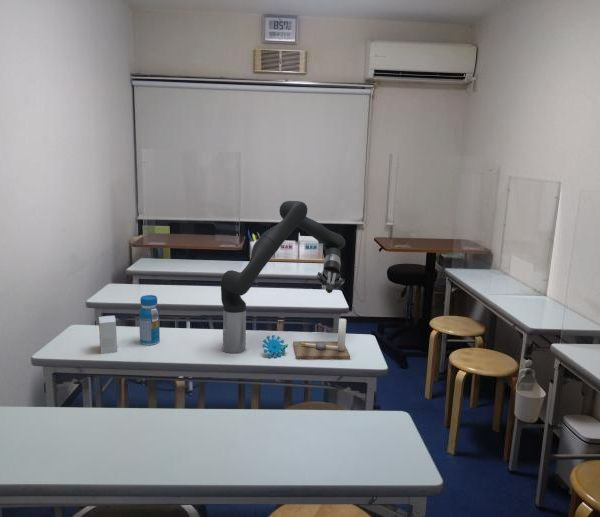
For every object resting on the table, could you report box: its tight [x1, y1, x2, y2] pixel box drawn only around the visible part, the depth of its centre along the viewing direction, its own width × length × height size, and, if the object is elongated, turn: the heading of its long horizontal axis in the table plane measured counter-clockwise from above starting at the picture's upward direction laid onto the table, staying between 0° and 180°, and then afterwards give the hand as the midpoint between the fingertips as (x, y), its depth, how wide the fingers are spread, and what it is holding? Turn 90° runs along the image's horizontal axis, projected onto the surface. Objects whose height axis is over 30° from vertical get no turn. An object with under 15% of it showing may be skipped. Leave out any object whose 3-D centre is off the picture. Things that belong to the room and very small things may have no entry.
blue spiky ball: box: [261, 334, 289, 359], centre depth 210 cm, size 11×6×10 cm
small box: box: [98, 315, 118, 354], centre depth 207 cm, size 8×6×13 cm
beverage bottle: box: [138, 294, 161, 346], centre depth 215 cm, size 8×8×20 cm
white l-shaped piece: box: [301, 318, 347, 351], centre depth 212 cm, size 18×4×13 cm, turn 79°
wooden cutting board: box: [292, 340, 351, 361], centre depth 214 cm, size 22×16×2 cm
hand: (329, 291), depth 218 cm, fingers closed
